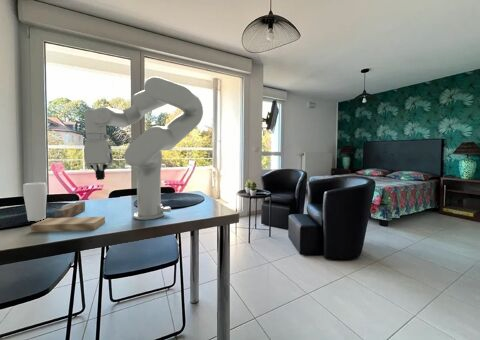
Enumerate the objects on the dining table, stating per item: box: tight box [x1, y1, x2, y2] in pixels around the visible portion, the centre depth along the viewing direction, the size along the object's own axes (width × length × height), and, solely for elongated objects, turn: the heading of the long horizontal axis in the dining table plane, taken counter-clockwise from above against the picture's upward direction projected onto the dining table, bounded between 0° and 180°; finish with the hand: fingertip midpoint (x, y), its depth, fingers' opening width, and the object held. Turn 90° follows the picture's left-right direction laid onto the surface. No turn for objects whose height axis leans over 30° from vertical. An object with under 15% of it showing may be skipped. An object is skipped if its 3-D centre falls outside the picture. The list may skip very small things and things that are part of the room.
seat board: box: [30, 216, 106, 233], centre depth 79 cm, size 20×9×2 cm, turn 100°
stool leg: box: [53, 201, 86, 218], centre depth 91 cm, size 18×3×4 cm, turn 11°
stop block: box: [61, 202, 73, 208], centre depth 95 cm, size 2×5×4 cm, turn 10°
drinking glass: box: [22, 181, 48, 222], centre depth 85 cm, size 7×7×15 cm
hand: (100, 179), depth 94 cm, fingers closed
